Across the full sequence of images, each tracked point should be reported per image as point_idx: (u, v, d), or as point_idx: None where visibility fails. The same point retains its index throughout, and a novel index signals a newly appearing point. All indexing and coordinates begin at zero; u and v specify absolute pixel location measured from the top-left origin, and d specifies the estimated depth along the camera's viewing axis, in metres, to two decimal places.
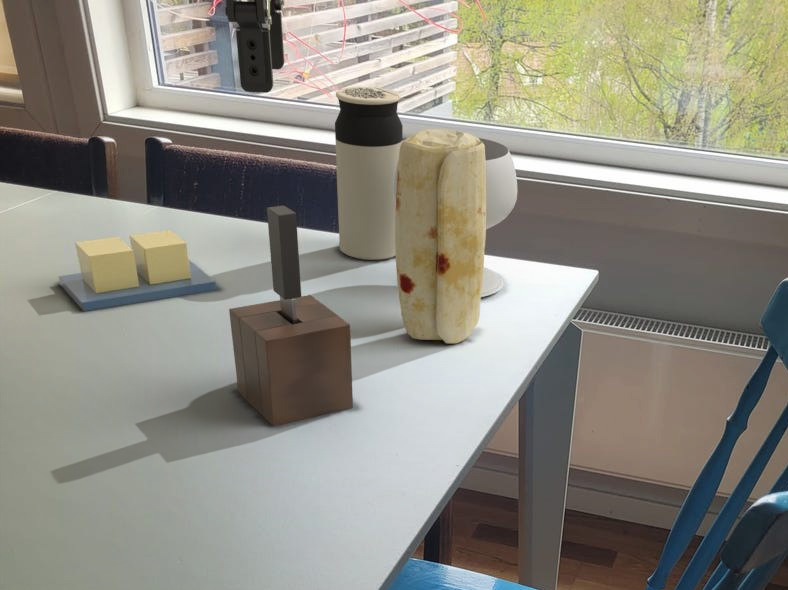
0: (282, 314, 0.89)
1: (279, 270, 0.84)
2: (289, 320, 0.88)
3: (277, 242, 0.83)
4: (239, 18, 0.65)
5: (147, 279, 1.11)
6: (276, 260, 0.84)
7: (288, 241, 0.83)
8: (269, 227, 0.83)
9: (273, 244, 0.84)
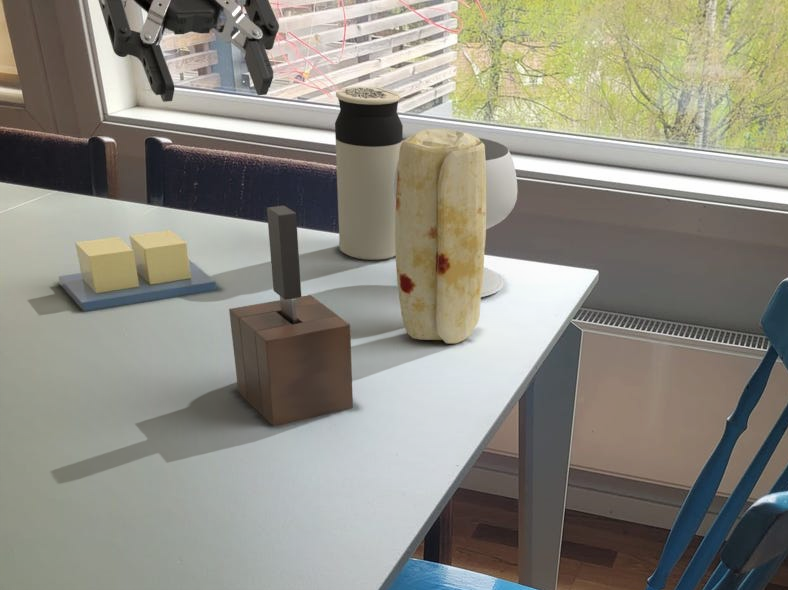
0: (282, 314, 0.89)
1: (279, 270, 0.84)
2: (289, 320, 0.88)
3: (277, 242, 0.83)
4: (276, 33, 0.88)
5: (147, 279, 1.11)
6: (276, 260, 0.84)
7: (288, 241, 0.83)
8: (269, 227, 0.83)
9: (273, 244, 0.84)
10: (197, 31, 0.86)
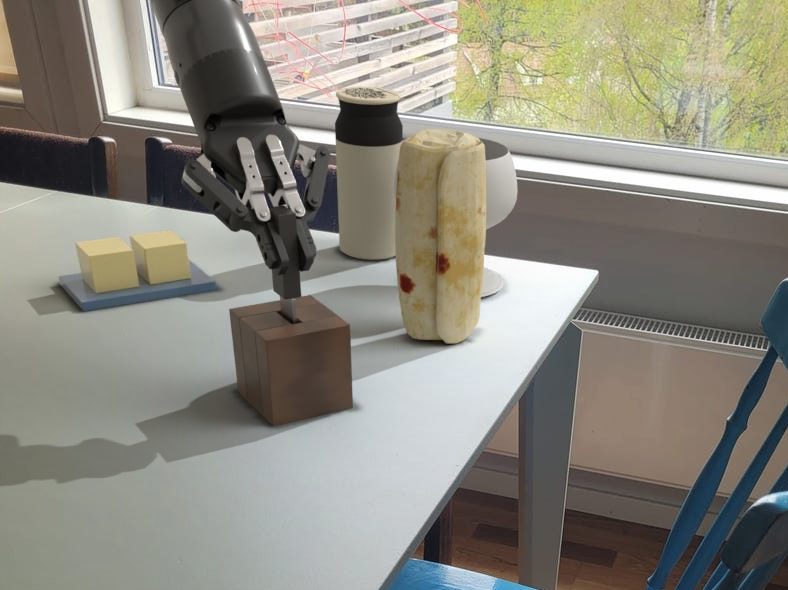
0: (282, 314, 0.89)
1: None
2: (289, 320, 0.88)
3: None
4: None
5: (147, 279, 1.11)
6: None
7: (288, 241, 0.83)
8: None
9: None
10: (268, 192, 0.85)
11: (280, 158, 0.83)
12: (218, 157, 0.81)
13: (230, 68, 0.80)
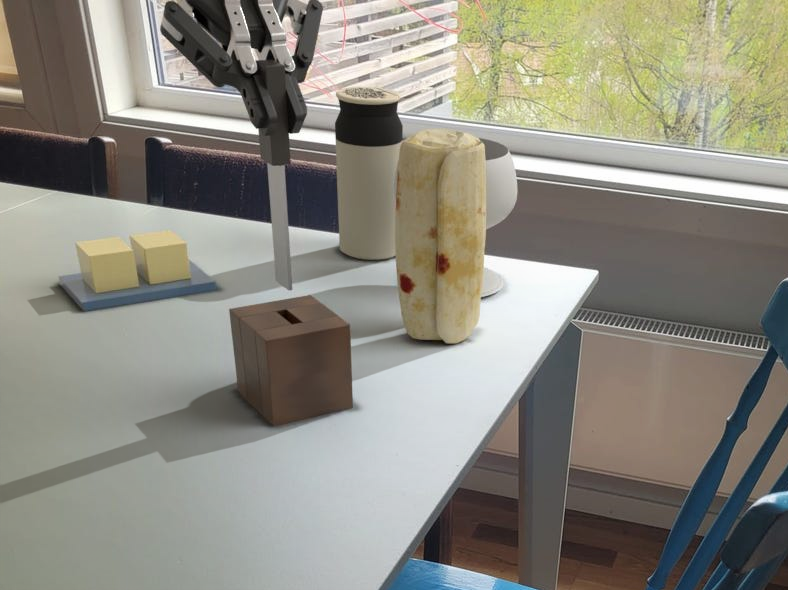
0: (270, 186, 0.82)
1: None
2: (277, 191, 0.81)
3: None
4: None
5: (147, 279, 1.11)
6: None
7: (277, 97, 0.76)
8: None
9: None
10: (255, 47, 0.78)
11: (268, 7, 0.76)
12: (200, 2, 0.75)
13: None
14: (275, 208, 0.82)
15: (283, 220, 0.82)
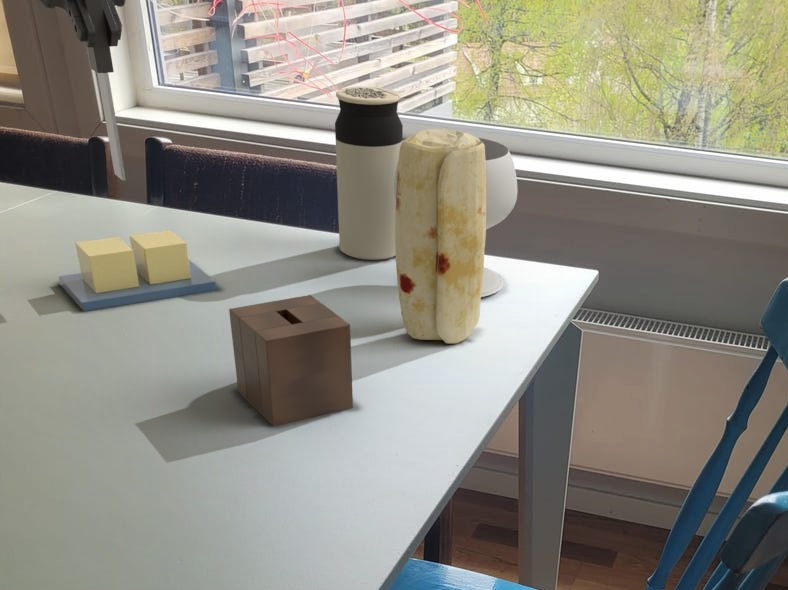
0: (101, 92, 1.01)
1: None
2: (105, 95, 1.00)
3: None
4: None
5: (147, 279, 1.11)
6: None
7: (96, 16, 0.96)
8: None
9: None
10: None
11: None
12: None
13: None
14: (106, 110, 1.02)
15: (111, 119, 1.01)
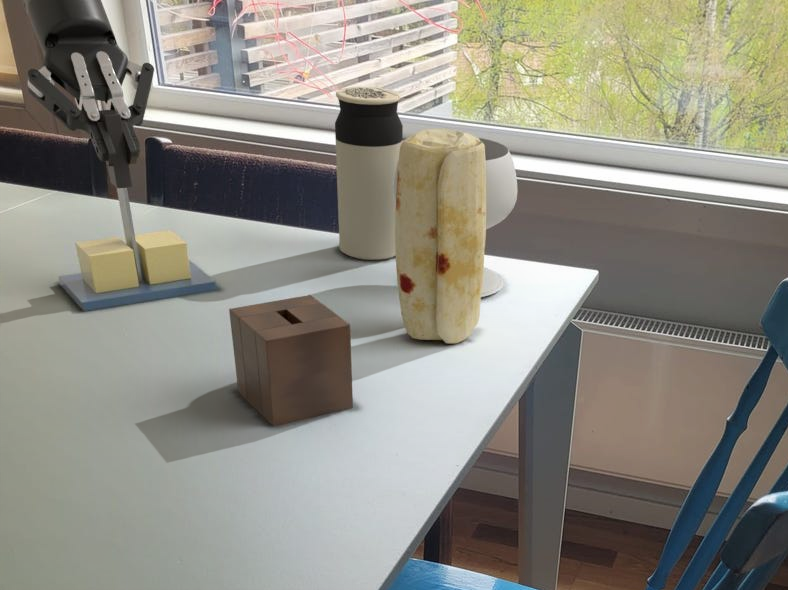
0: (120, 203, 1.08)
1: None
2: (124, 207, 1.07)
3: None
4: (143, 112, 1.04)
5: (147, 279, 1.11)
6: None
7: (116, 138, 1.02)
8: None
9: None
10: (102, 99, 1.04)
11: (109, 71, 1.02)
12: (56, 68, 1.01)
13: None
14: (124, 219, 1.09)
15: (129, 228, 1.08)
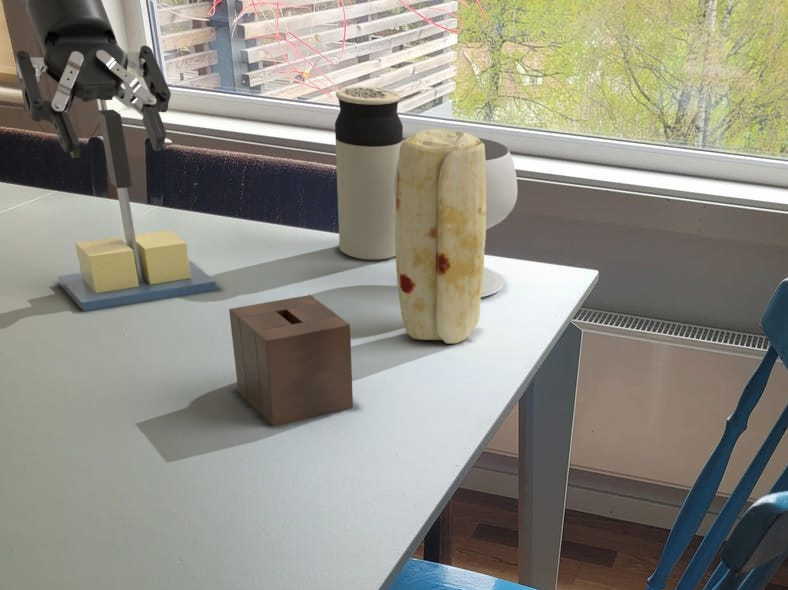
0: (120, 203, 1.08)
1: (111, 163, 1.04)
2: (124, 207, 1.07)
3: (107, 139, 1.03)
4: (168, 99, 1.06)
5: (147, 279, 1.11)
6: (108, 155, 1.04)
7: (116, 138, 1.02)
8: (101, 127, 1.03)
9: (105, 141, 1.03)
10: (101, 98, 1.04)
11: (115, 66, 1.02)
12: (56, 67, 1.01)
13: None
14: (124, 219, 1.09)
15: (129, 228, 1.08)
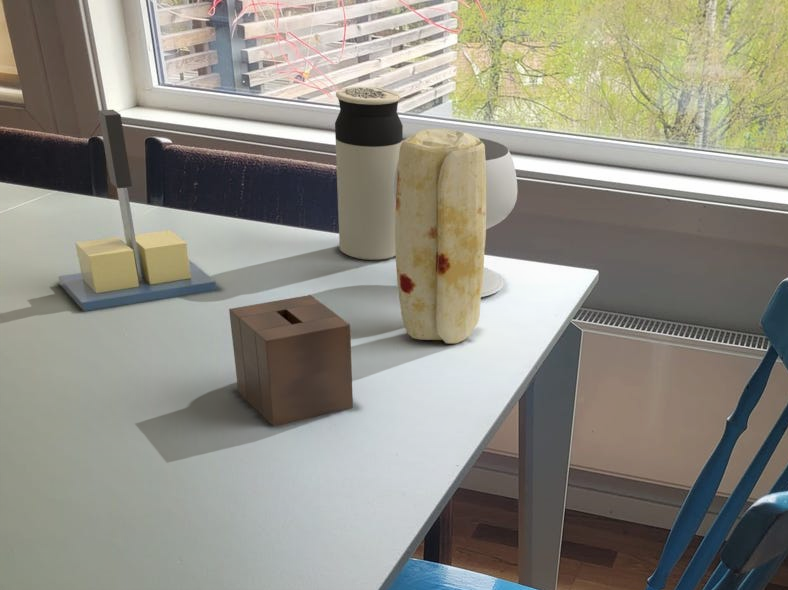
0: (120, 203, 1.08)
1: (111, 163, 1.04)
2: (124, 207, 1.07)
3: (107, 139, 1.03)
4: None
5: (147, 279, 1.11)
6: (108, 155, 1.04)
7: (116, 138, 1.02)
8: (101, 127, 1.03)
9: (105, 141, 1.03)
10: None
11: None
12: None
13: None
14: (124, 219, 1.09)
15: (129, 228, 1.08)
